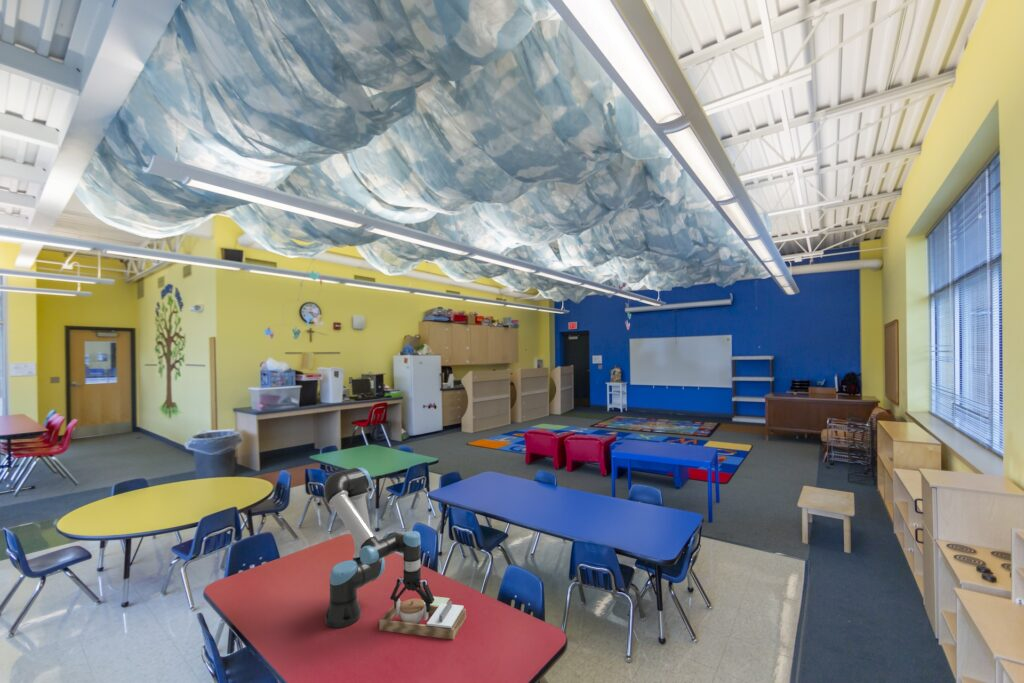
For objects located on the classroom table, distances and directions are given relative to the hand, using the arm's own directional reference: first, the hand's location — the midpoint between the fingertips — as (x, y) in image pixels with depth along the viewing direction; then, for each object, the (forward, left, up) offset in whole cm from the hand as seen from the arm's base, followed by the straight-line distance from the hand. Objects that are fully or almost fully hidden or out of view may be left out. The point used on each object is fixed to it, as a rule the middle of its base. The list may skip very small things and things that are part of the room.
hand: (412, 617), depth 194 cm
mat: (+3, +16, -2) cm, 16 cm away
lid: (+16, 0, +2) cm, 16 cm away
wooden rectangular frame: (+5, 0, -2) cm, 6 cm away
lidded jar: (0, 0, -2) cm, 2 cm away
